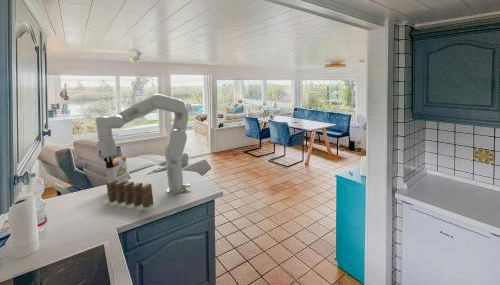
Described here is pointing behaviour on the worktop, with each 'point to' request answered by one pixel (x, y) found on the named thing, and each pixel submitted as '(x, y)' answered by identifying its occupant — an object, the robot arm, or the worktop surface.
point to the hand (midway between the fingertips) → (110, 167)
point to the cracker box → (118, 170)
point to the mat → (155, 203)
